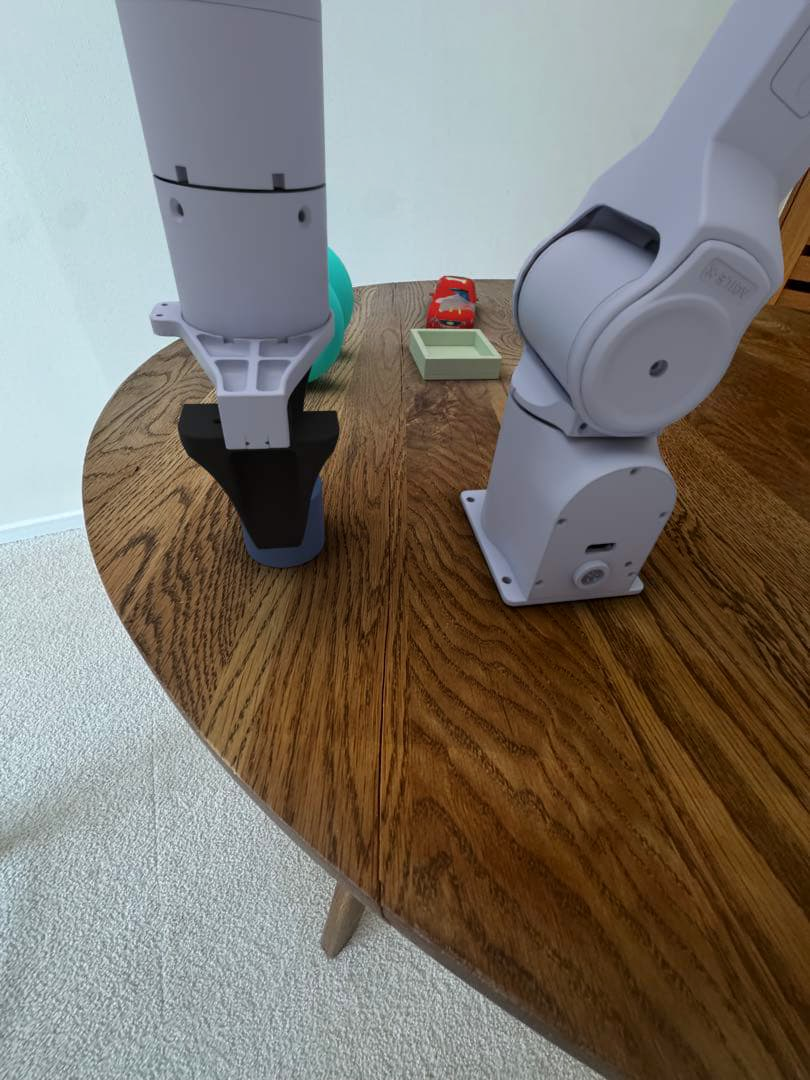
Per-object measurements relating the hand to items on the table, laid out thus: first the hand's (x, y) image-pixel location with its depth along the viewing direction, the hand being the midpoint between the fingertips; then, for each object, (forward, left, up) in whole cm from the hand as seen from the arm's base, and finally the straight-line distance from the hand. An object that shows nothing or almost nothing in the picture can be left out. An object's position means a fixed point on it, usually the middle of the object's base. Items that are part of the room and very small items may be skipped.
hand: (279, 494), depth 26 cm
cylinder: (0, 0, -3) cm, 3 cm away
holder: (+24, -16, -3) cm, 29 cm away
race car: (+36, -19, -4) cm, 41 cm away
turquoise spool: (+23, -1, -4) cm, 24 cm away
